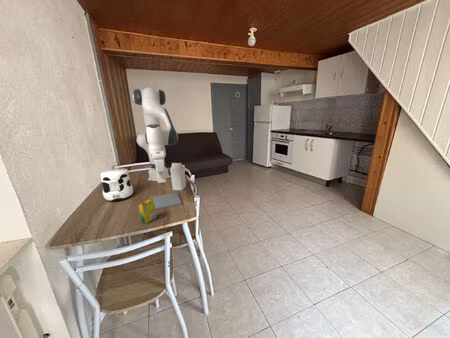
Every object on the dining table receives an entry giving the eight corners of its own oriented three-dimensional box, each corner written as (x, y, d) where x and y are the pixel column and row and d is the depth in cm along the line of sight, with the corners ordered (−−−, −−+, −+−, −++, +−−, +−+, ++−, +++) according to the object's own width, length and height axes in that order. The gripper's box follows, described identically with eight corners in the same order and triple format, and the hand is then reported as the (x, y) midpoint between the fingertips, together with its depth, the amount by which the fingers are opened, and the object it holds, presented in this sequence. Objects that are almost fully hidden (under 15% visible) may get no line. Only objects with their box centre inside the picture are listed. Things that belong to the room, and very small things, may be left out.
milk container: (124, 190, 137) (119, 167, 132) (139, 195, 128) (134, 169, 123) (99, 200, 123) (92, 173, 118) (114, 205, 114) (107, 177, 109)
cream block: (157, 180, 113) (155, 168, 111) (165, 179, 115) (163, 167, 113) (158, 183, 109) (156, 169, 107) (166, 181, 111) (164, 168, 109)
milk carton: (182, 190, 132) (179, 164, 127) (172, 190, 134) (169, 164, 128) (186, 186, 139) (183, 161, 134) (177, 186, 140) (174, 161, 135)
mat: (148, 198, 121) (148, 197, 120) (177, 193, 127) (177, 192, 127) (149, 211, 105) (148, 209, 104) (181, 204, 111) (181, 202, 111)
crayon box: (152, 215, 100) (149, 195, 96) (157, 216, 98) (153, 196, 95) (141, 223, 93) (137, 201, 90) (145, 224, 92) (141, 202, 89)
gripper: (151, 151, 116) (154, 172, 119) (152, 157, 97) (156, 182, 101) (162, 150, 118) (165, 171, 122) (164, 155, 100) (168, 180, 103)
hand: (161, 176), depth 111 cm, fingers closed on cream block, 4 cm apart
